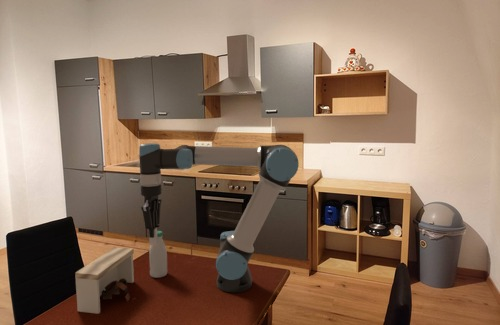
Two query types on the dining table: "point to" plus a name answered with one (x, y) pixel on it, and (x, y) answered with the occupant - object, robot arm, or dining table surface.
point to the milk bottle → (158, 258)
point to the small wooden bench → (102, 277)
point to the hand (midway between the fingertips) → (153, 244)
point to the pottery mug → (116, 289)
